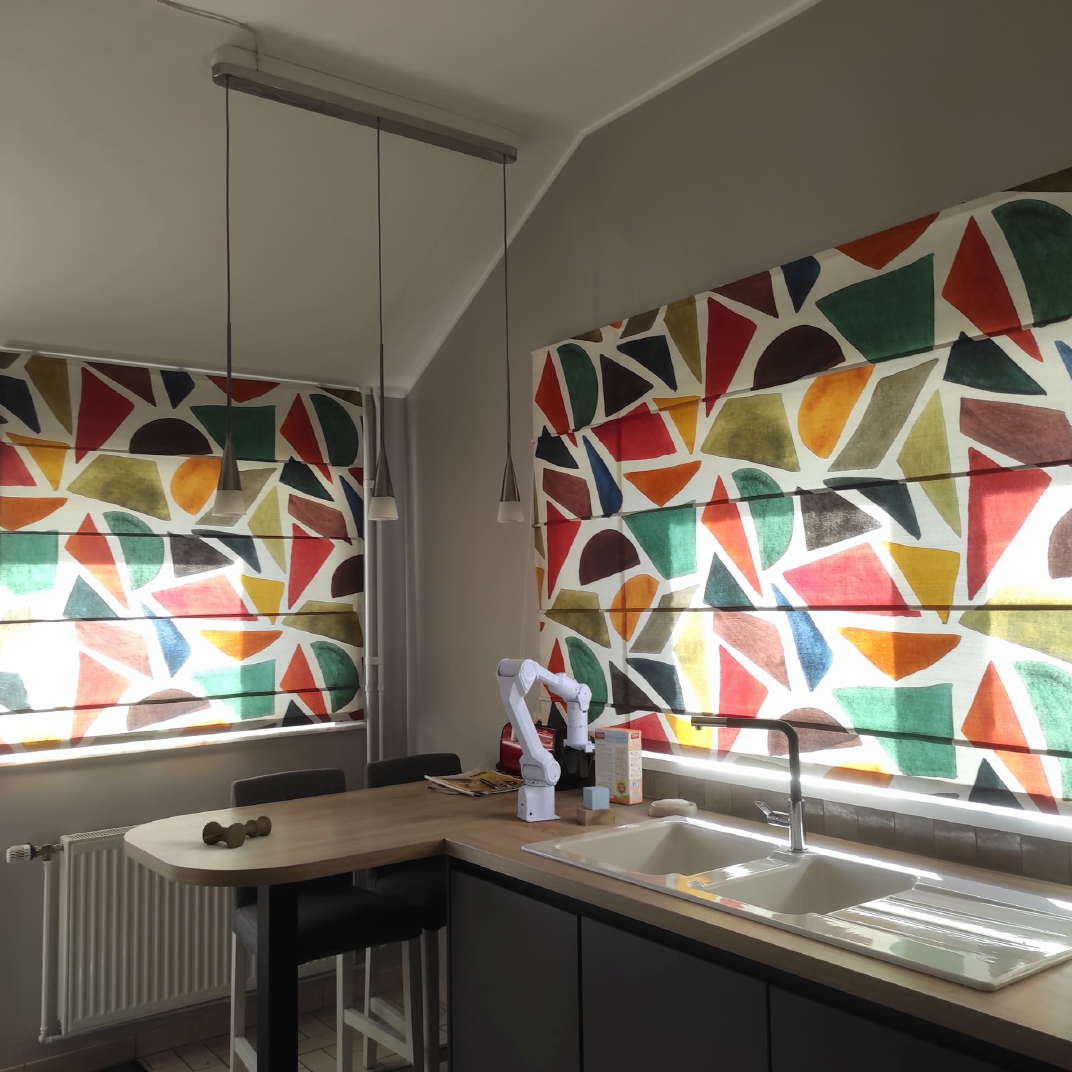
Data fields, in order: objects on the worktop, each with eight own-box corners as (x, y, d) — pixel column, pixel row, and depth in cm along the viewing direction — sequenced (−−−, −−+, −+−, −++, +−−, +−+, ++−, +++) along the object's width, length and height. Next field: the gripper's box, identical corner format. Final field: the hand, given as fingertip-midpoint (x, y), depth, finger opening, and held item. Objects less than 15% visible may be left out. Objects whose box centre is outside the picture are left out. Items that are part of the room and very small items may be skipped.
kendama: (279, 839, 246) (216, 853, 229) (252, 836, 251) (188, 850, 234) (280, 814, 247) (217, 827, 229) (252, 812, 251) (188, 824, 234)
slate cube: (592, 810, 256) (592, 790, 257) (583, 806, 261) (583, 787, 261) (609, 808, 258) (609, 788, 259) (600, 805, 263) (600, 786, 263)
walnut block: (585, 827, 254) (585, 811, 255) (576, 821, 262) (576, 805, 262) (615, 825, 256) (614, 809, 257) (605, 819, 264) (604, 804, 264)
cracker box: (643, 803, 284) (642, 729, 286) (629, 806, 280) (627, 731, 282) (609, 796, 295) (608, 725, 297) (594, 799, 291) (593, 727, 293)
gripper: (601, 728, 273) (602, 778, 271) (579, 723, 286) (579, 770, 285) (578, 729, 270) (579, 779, 269) (556, 724, 283) (557, 772, 282)
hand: (578, 775), depth 277 cm, fingers open, 7 cm apart
